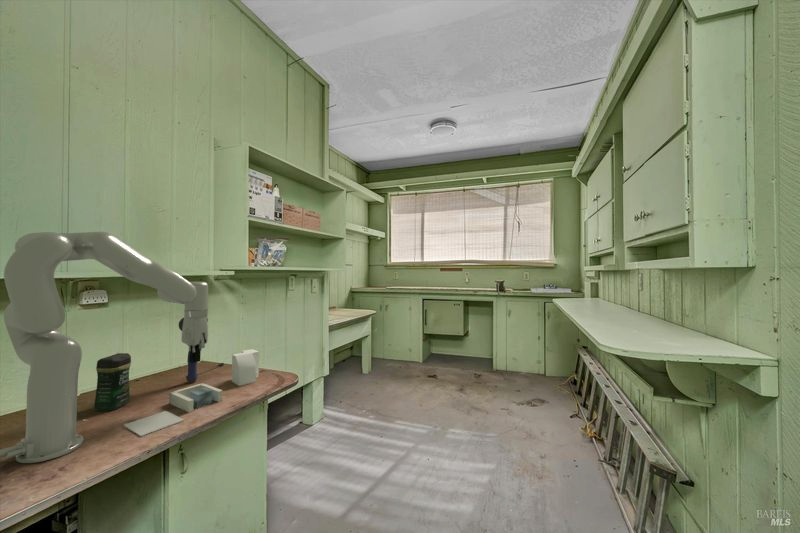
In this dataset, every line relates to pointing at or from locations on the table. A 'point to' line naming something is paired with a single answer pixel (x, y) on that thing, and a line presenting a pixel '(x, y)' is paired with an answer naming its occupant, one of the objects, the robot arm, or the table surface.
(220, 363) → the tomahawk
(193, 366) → the rubber mallet
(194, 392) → the block
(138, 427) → the mat
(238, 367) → the corner bracket
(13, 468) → the table surface
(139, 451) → the table surface
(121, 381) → the coffee jar
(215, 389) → the bay
